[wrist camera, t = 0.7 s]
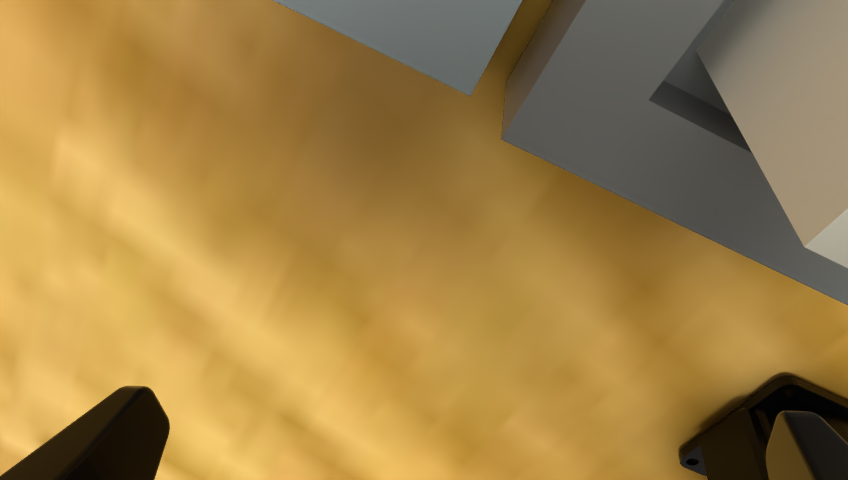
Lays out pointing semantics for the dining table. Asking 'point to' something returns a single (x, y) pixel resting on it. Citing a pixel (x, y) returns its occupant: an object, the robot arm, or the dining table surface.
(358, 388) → the dining table surface
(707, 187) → the raised dock
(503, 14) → the low dock
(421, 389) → the dining table surface
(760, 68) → the plug
